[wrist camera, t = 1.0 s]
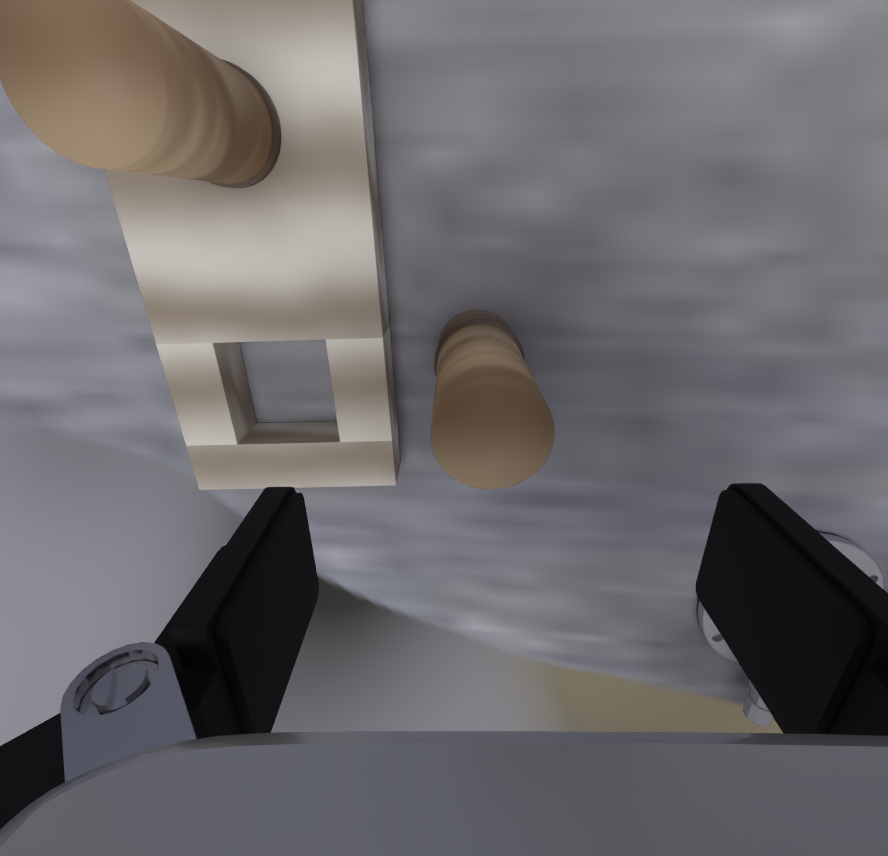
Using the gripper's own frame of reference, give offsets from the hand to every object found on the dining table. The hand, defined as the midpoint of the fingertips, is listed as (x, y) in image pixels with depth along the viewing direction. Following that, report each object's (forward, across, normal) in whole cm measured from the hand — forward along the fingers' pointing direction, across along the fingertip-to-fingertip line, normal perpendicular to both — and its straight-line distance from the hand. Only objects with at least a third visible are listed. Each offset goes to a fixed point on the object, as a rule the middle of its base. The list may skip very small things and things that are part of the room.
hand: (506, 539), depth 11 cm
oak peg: (+18, 0, 0) cm, 19 cm away
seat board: (+18, +11, -4) cm, 22 cm away
